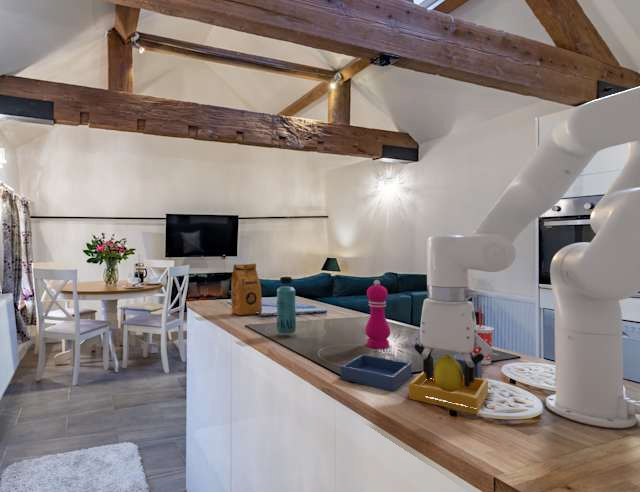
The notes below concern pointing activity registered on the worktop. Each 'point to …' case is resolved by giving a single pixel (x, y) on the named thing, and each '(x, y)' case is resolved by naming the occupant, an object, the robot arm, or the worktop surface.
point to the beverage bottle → (286, 307)
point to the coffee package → (245, 290)
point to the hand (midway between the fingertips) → (448, 380)
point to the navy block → (462, 362)
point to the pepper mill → (377, 317)
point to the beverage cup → (486, 335)
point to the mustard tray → (450, 393)
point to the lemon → (448, 374)
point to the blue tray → (376, 372)
